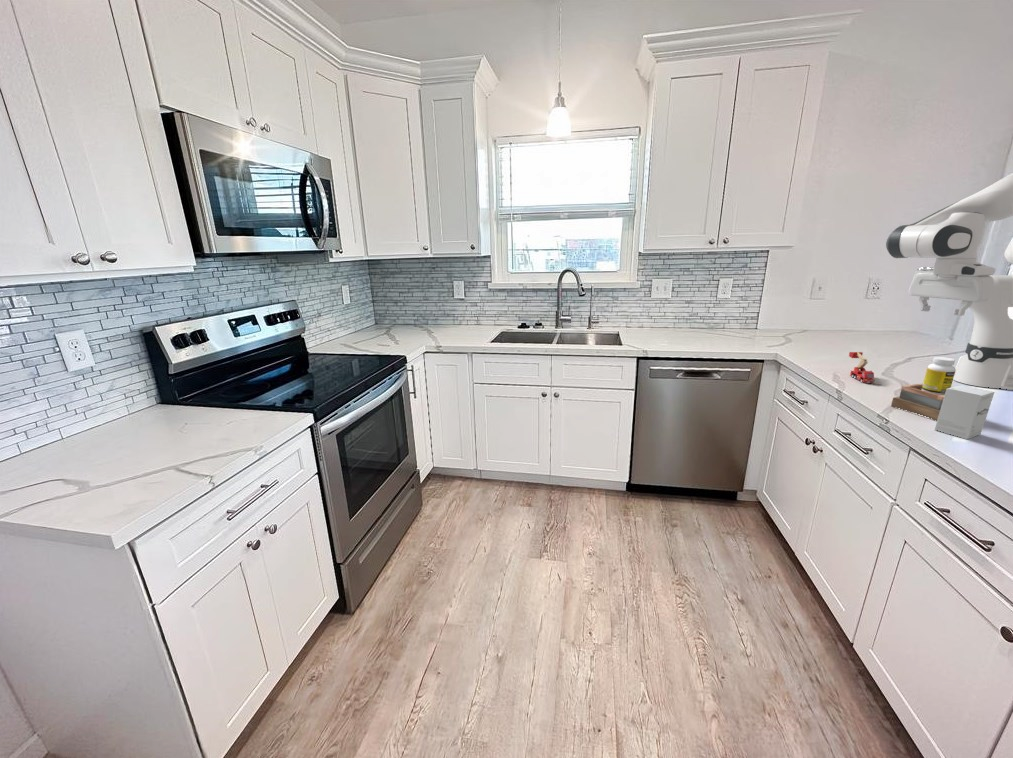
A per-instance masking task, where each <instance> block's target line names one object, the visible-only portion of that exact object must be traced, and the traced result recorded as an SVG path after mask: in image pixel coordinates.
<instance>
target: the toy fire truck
mask: <svg viewBox="0 0 1013 758" xmlns="http://www.w3.org/2000/svg"><path fill="white" fill-rule="evenodd" d="M848 353H849V354H848V357H849V358H852V359H860V361H859V363H858V365H857V366H854V368H853V370H850V374H849V376H851V378H852V377H853V379H854V378H855V379H854V380H858V381H860V383H862V382H863V383H864V384H872V383H874V377H875V373H874V372H873V371H872V370H866V369H865V368H866V365H867V364H868V363H869V362H868V358H865V357H864V356H863V353H864V352H863V351H849V352H848Z"/></svg>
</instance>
